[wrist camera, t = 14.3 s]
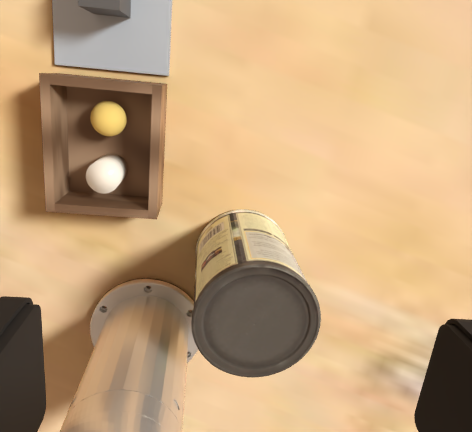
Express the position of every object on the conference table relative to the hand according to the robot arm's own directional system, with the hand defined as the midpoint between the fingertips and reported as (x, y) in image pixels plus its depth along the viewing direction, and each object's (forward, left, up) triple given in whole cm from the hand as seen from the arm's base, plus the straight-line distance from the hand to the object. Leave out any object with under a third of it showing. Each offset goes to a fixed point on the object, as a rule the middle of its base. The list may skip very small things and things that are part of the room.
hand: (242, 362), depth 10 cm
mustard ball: (+2, +10, -34) cm, 35 cm away
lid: (+12, +10, -35) cm, 38 cm away
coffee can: (-12, -4, -34) cm, 37 cm away
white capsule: (-3, +10, -34) cm, 35 cm away
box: (-1, +10, -34) cm, 36 cm away
